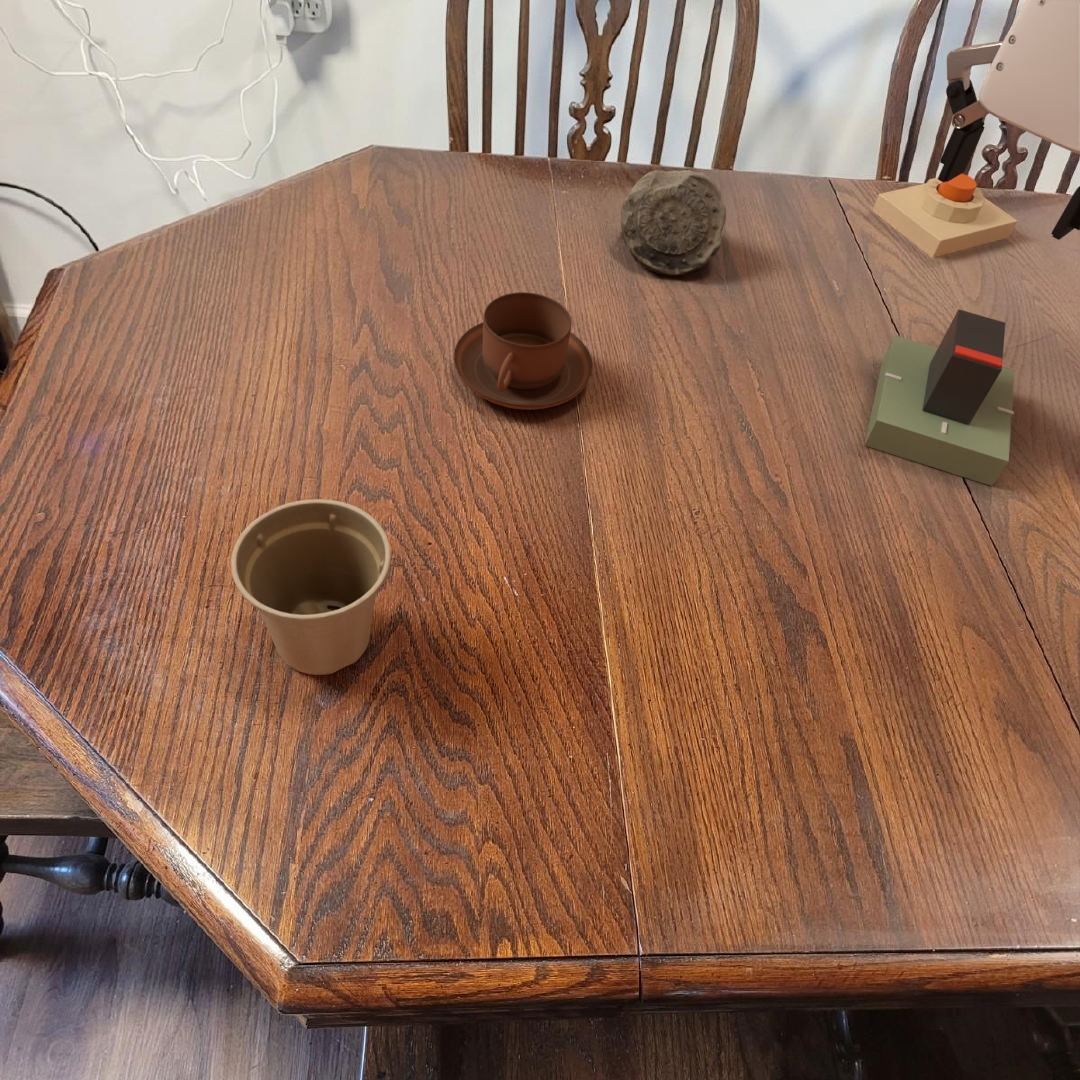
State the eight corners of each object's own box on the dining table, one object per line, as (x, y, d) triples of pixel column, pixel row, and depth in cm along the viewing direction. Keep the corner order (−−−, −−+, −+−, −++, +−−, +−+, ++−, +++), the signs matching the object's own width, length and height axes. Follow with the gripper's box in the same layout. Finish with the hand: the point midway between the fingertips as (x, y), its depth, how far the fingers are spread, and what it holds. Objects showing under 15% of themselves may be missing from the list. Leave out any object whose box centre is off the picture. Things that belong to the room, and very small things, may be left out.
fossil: (635, 283, 92) (632, 174, 89) (604, 273, 101) (599, 173, 97) (736, 271, 95) (737, 164, 91) (697, 262, 103) (696, 164, 99)
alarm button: (953, 184, 106) (960, 169, 105) (976, 200, 104) (984, 185, 103) (930, 189, 105) (937, 175, 103) (953, 206, 103) (960, 191, 101)
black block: (929, 364, 85) (959, 306, 80) (974, 377, 84) (1007, 320, 79) (921, 410, 80) (953, 352, 75) (969, 425, 80) (1003, 367, 75)
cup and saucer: (592, 427, 79) (602, 370, 75) (449, 417, 78) (451, 358, 74) (586, 338, 87) (596, 281, 82) (457, 328, 86) (459, 270, 81)
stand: (881, 359, 89) (894, 333, 87) (1000, 395, 88) (1016, 369, 85) (862, 445, 81) (876, 418, 79) (993, 486, 79) (1011, 460, 77)
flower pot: (247, 590, 65) (228, 506, 58) (384, 573, 67) (380, 490, 61) (253, 707, 59) (232, 628, 53) (402, 685, 61) (401, 607, 55)
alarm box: (946, 194, 112) (961, 162, 109) (1008, 238, 107) (1025, 206, 104) (871, 211, 108) (884, 178, 105) (932, 258, 102) (948, 225, 99)
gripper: (1291, -8, 58) (1131, 239, 71) (1034, -96, 65) (932, 144, 78) (1250, 17, 54) (1089, 273, 67) (983, -79, 61) (884, 169, 74)
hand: (1004, 203), depth 72 cm, fingers open, 9 cm apart
